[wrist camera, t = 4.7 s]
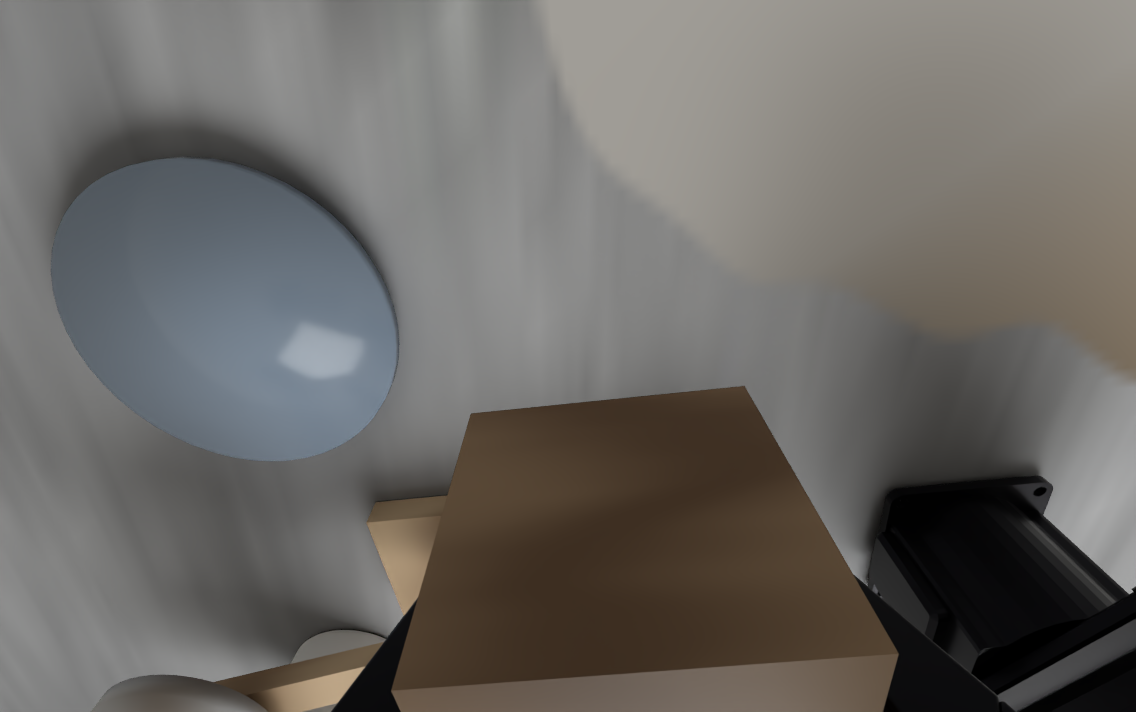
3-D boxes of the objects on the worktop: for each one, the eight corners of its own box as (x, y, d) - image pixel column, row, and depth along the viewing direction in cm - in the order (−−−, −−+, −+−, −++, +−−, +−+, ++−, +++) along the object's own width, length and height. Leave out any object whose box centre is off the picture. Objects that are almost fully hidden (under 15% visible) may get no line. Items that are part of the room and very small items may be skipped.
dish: (349, 132, 16) (334, 135, 15) (435, 427, 21) (428, 446, 20) (12, 177, 17) (-26, 184, 16) (173, 454, 22) (153, 474, 21)
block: (744, 386, 9) (899, 653, 5) (736, 576, 11) (837, 875, 7) (471, 413, 9) (390, 691, 5) (515, 595, 11) (485, 894, 7)
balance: (749, 466, 22) (831, 642, 15) (744, 567, 25) (812, 754, 18) (199, 518, 23) (46, 701, 17) (253, 608, 26) (140, 797, 19)
